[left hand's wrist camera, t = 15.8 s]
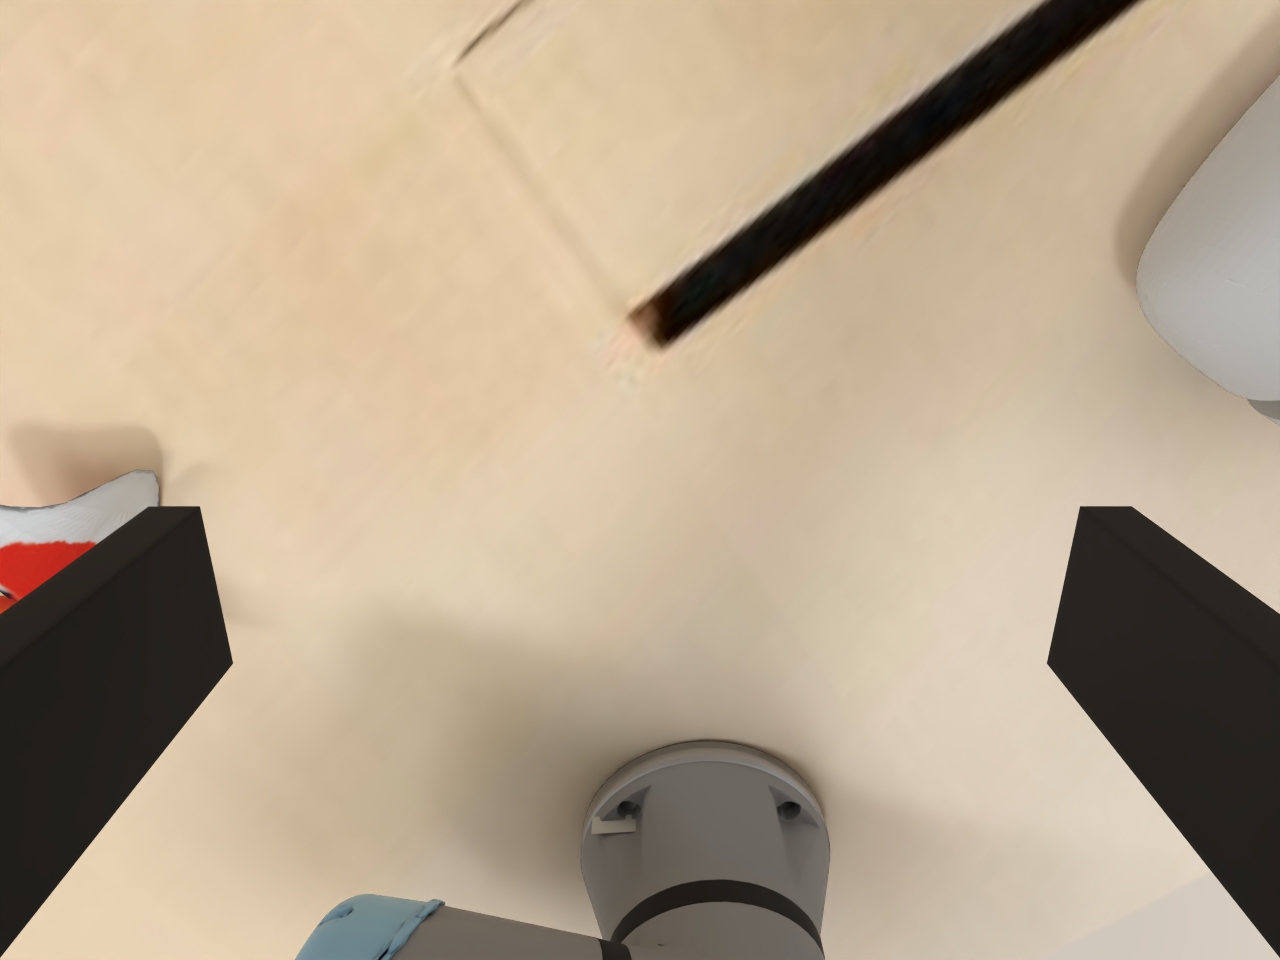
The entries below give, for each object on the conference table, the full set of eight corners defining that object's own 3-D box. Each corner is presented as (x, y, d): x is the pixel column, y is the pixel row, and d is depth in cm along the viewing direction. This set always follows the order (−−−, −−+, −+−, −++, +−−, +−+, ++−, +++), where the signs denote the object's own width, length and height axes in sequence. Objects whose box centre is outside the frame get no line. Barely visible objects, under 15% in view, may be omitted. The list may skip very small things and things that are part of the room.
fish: (-200, 571, 41) (-260, 690, 33) (92, 383, 44) (98, 452, 36) (-10, 689, 47) (-24, 812, 40) (230, 518, 51) (260, 601, 43)
